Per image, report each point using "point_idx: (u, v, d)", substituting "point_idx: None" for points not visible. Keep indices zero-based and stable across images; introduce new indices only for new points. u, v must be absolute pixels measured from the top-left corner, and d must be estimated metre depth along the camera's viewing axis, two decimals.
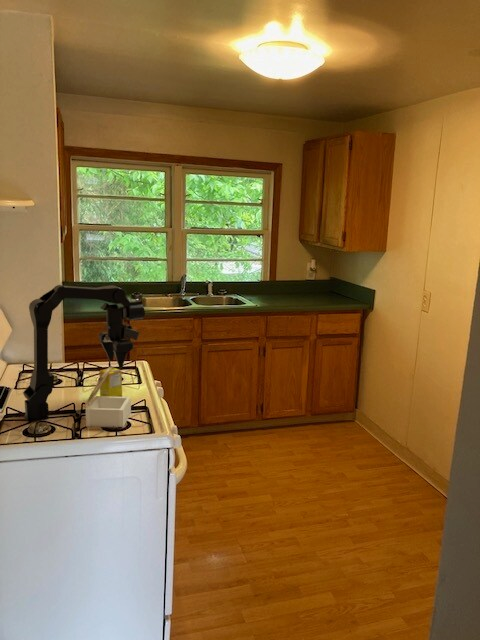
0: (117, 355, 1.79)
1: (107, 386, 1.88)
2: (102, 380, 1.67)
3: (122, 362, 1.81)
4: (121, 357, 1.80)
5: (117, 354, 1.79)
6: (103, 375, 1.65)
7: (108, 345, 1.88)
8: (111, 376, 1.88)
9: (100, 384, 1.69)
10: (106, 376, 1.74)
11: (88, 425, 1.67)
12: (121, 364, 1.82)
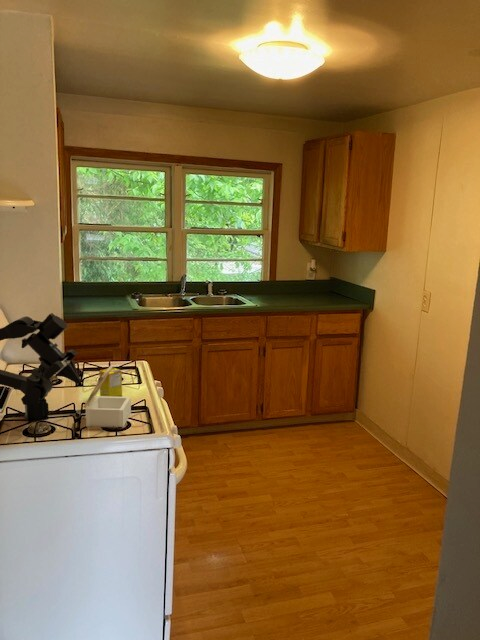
0: None
1: (107, 386, 1.88)
2: (102, 380, 1.67)
3: None
4: None
5: None
6: (103, 375, 1.65)
7: None
8: (111, 376, 1.88)
9: (100, 384, 1.69)
10: (106, 376, 1.74)
11: (88, 425, 1.67)
12: None
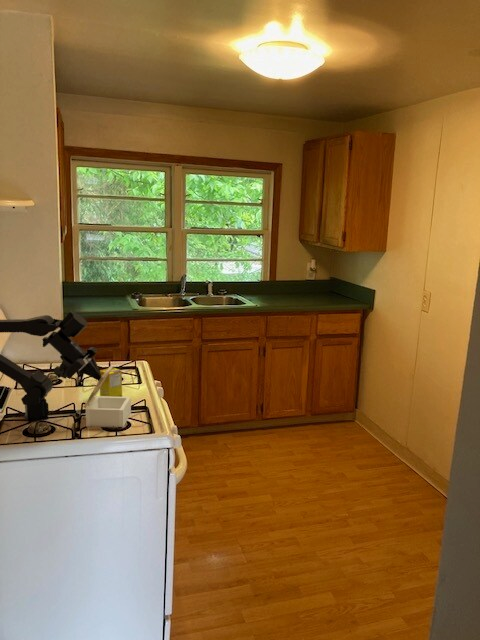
0: None
1: (107, 386, 1.88)
2: (102, 380, 1.67)
3: None
4: None
5: None
6: (103, 375, 1.65)
7: None
8: (111, 376, 1.88)
9: (100, 384, 1.69)
10: (106, 376, 1.74)
11: (88, 425, 1.67)
12: None
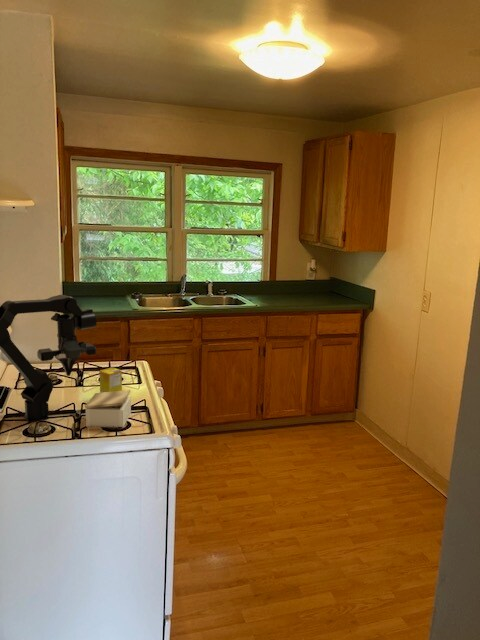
0: (60, 361, 1.79)
1: (107, 386, 1.88)
2: None
3: (65, 371, 1.79)
4: (63, 365, 1.78)
5: None
6: (123, 401, 1.67)
7: (68, 358, 1.79)
8: (111, 376, 1.88)
9: None
10: None
11: (88, 425, 1.67)
12: (66, 372, 1.79)
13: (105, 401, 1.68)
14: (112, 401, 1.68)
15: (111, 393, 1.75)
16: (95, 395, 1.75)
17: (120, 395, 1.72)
